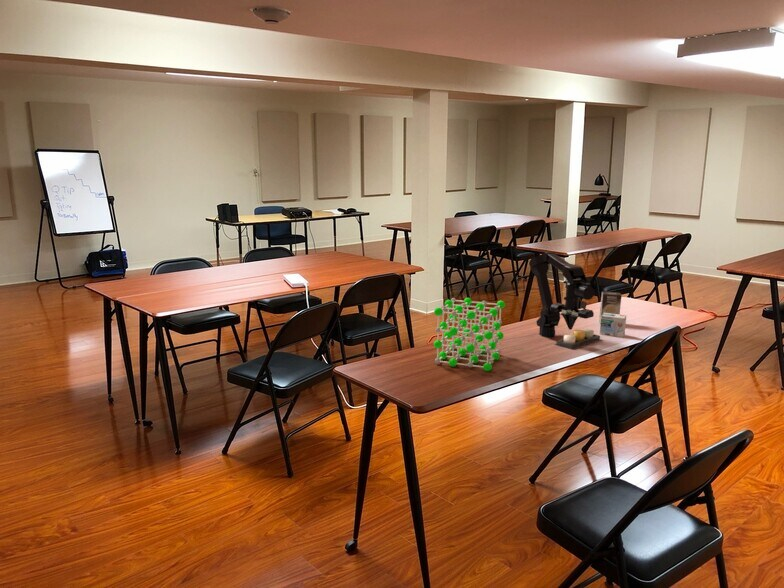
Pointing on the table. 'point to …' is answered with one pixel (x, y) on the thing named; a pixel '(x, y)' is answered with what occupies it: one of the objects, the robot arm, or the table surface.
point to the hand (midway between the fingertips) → (570, 329)
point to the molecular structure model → (469, 332)
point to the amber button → (579, 335)
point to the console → (578, 342)
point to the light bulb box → (613, 324)
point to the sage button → (588, 333)
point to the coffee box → (610, 303)
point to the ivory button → (569, 339)
